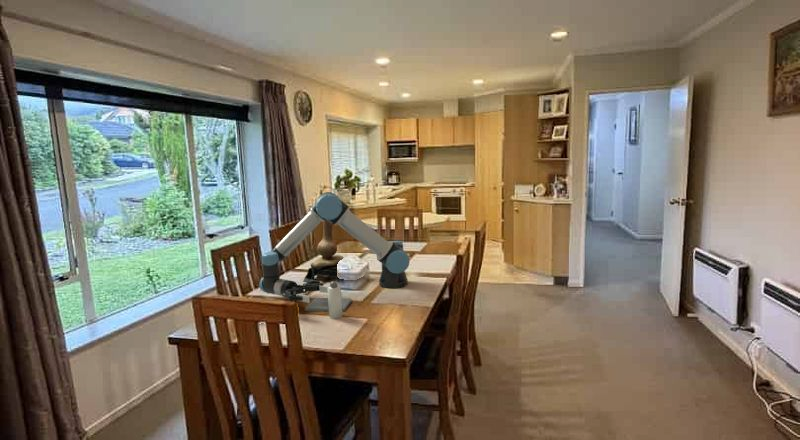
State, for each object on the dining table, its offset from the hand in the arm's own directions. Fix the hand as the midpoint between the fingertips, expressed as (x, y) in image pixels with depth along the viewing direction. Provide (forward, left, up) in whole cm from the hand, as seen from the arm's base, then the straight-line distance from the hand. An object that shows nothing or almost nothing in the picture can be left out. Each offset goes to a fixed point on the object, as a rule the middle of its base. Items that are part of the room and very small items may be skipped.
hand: (320, 294), depth 185 cm
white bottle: (-7, +3, -8) cm, 12 cm away
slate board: (0, -10, -8) cm, 13 cm away
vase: (+16, -56, -9) cm, 59 cm away
